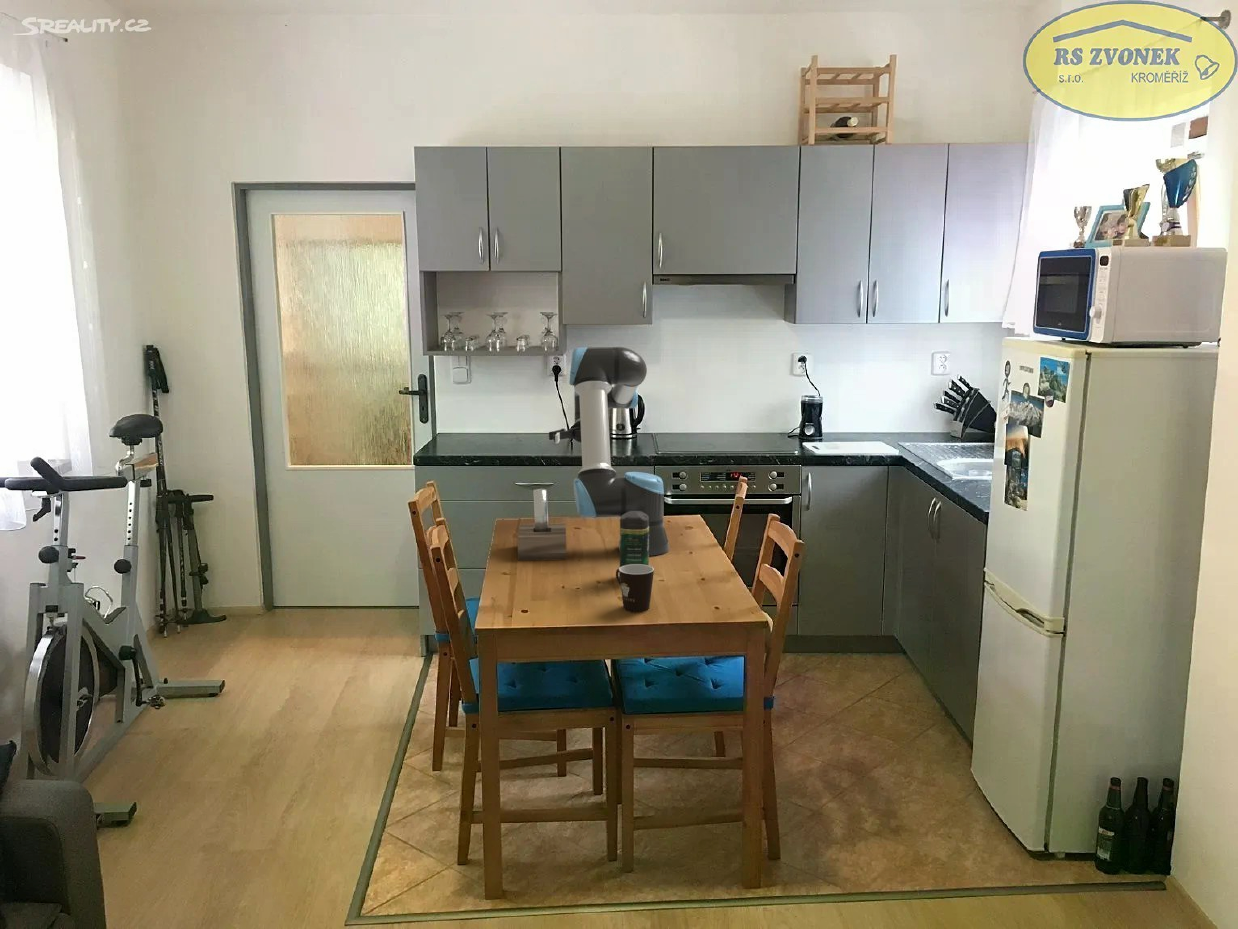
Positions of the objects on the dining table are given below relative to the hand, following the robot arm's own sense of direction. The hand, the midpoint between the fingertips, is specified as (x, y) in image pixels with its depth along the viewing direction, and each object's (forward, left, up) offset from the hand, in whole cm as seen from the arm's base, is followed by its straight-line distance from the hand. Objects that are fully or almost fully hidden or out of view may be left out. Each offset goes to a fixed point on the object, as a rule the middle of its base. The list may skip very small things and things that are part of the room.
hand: (577, 439), depth 311 cm
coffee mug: (-71, +33, -30) cm, 84 cm away
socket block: (-15, +24, -30) cm, 41 cm away
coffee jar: (-53, +19, -30) cm, 64 cm away
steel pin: (-15, +24, -28) cm, 40 cm away
